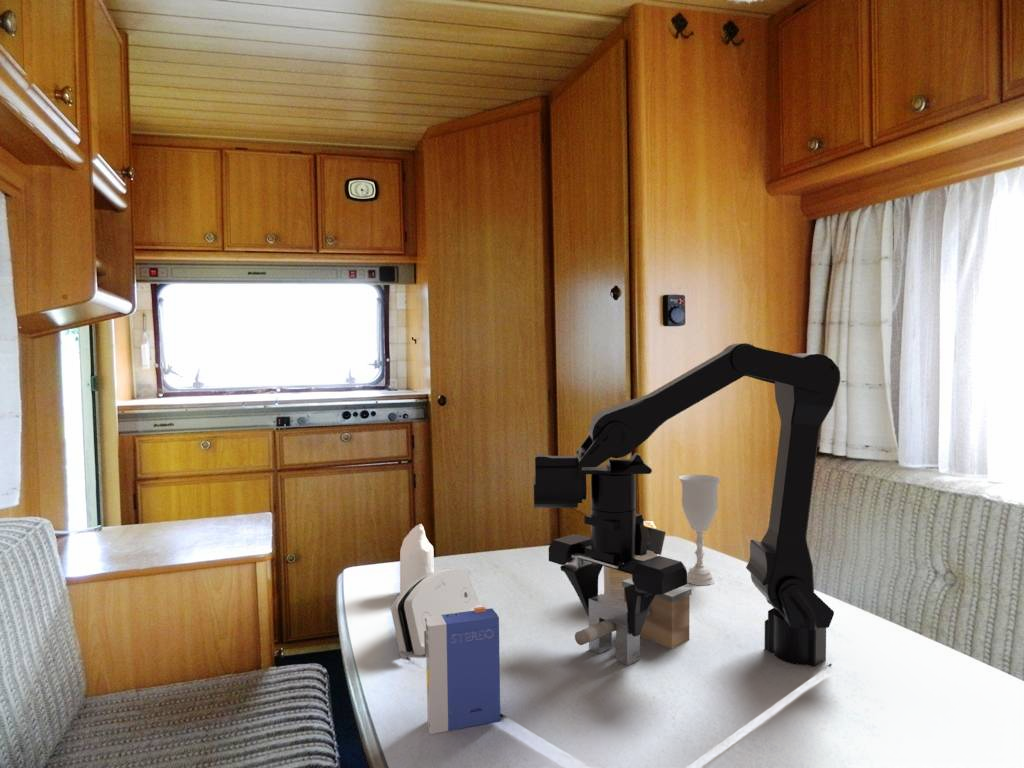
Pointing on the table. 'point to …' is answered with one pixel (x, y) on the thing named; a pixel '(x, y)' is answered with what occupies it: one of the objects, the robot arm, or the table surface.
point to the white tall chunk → (415, 557)
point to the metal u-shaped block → (625, 641)
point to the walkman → (462, 669)
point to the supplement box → (622, 574)
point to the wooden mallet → (653, 620)
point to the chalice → (699, 518)
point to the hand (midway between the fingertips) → (614, 627)
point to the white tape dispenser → (430, 605)
